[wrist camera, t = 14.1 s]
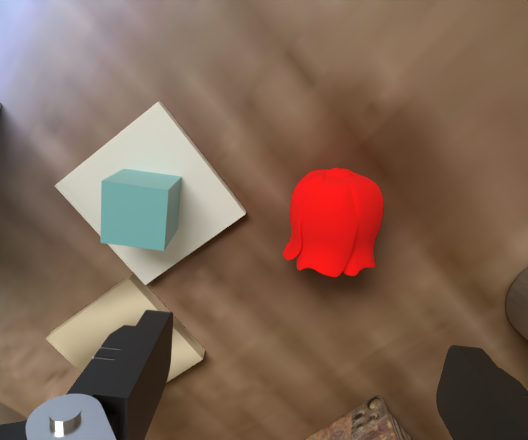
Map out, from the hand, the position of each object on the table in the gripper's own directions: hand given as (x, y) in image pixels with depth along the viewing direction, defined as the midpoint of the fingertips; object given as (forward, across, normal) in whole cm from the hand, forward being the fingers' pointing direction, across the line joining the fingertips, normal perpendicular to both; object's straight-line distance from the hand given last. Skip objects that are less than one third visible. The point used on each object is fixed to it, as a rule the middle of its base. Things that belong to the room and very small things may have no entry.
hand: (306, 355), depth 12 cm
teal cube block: (+24, +12, +2) cm, 27 cm away
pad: (+25, +12, +2) cm, 28 cm away
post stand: (+26, +14, +18) cm, 34 cm away
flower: (+26, -4, +1) cm, 26 cm away
